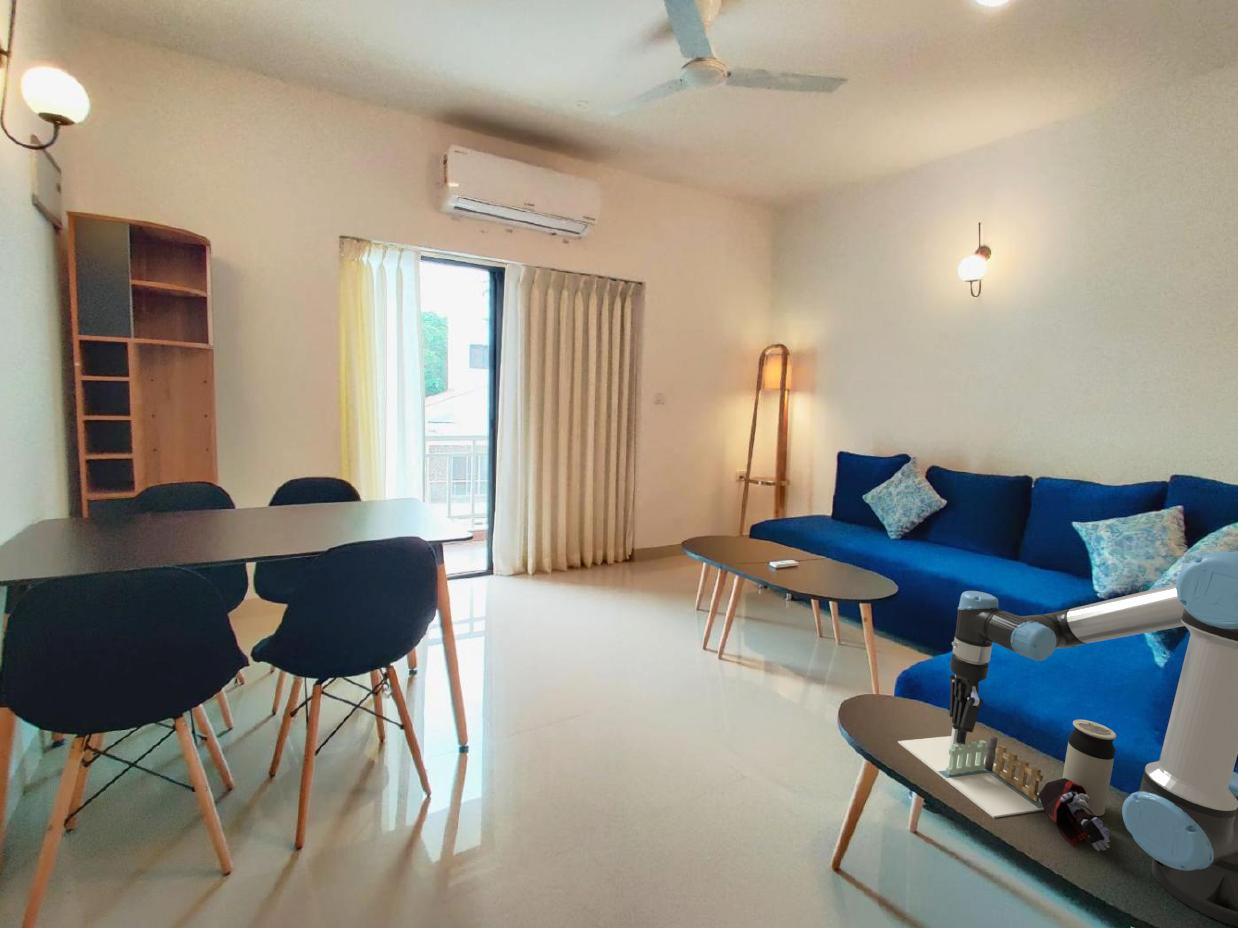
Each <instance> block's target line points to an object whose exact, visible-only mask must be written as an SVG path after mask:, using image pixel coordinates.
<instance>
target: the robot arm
mask: <svg viewBox="0 0 1238 928" xmlns="http://www.w3.org/2000/svg"><path fill="white" fill-rule="evenodd" d="M1179 627H1181V628H1182V627H1186V629H1187V630H1188V632H1189V634H1190V635H1189V640H1188V643H1187V648H1186V652H1185V656H1184V660H1183V663H1182V669H1181V672H1180V676H1179V679H1178V683H1177V688H1176V692H1175V696H1174V701H1173V703H1172V704H1173V705H1172V708H1171V713H1170V717H1169V721H1168V725H1167V729H1166V733H1165V736H1164V741H1163V744H1162V749H1161V752H1160V756H1159V760H1157V761H1153V762H1149V763H1147V764H1146V765H1145V767H1144V771H1143V775H1142V779H1141V783H1140V787H1139V790H1138V791H1136V792H1132V793H1130V795H1129V796H1128V797H1126V798H1125V800H1124V801H1123V804H1122V807H1121V815H1122V819H1123V822H1124V825H1125V827H1126V830H1127V831H1128V832H1129V833H1130V834H1131V837H1133V841H1135V843H1136V844H1137V845H1138V846H1139V848H1141V850H1143V851H1144V852H1145V853H1146V854H1148V855H1149V856H1150V857H1152V863H1151V867H1150V868H1151V873H1152V875H1153V877H1154V879H1155V880H1156V881H1157V882H1158V883H1159V885H1160V886H1161V887H1162V888H1164V890H1166V891H1167V892H1168V893H1169V894H1170V895H1172V896H1173V897H1174V898H1175V899H1177V900H1179V901H1180V902H1181V903H1183V904H1184V905H1186V906H1188V907H1190V908H1191V909H1193V910H1195V911H1197V912H1199V911H1200V912H1199V913H1201V914H1202V915H1205V916H1207V917H1209V918H1211V919H1213V918H1214V920H1216V921H1219V922H1220V923H1224V924H1226V925H1227V924H1228V925H1230V926H1232V927H1233V926H1234V927H1238V772H1235V771H1234V770H1235V766H1236V762H1237V757H1238V550H1233V549H1231V550H1220V551H1219V550H1218V551H1213V552H1210V553H1207V554H1203V555H1201V556H1197V557H1196V558H1194V559H1192V560H1191V561H1189V562H1188V563H1186V564H1185V566H1183V568H1182V569H1181V570H1180V572H1179V574H1178V576H1177V578H1176V583H1174V584H1170V585H1166V586H1162V587H1157V588H1153V589H1149V590H1143V591H1141V592H1137V593H1131V594H1128V595H1124V596H1120V597H1115V598H1111V599H1107V600H1103V601H1098V602H1095V603H1090V604H1086V605H1082V606H1077V607H1073V608H1070V609H1069V608H1068V609H1063V610H1059V611H1056V612H1050V613H1045V614H1044V613H1043V614H1034V615H1022V616H1020V615H1016V614H1013V613H1011V612H1008V611H1005V610H1002V609H1001V608H999V599H998V598H997V597H996V596H994V595H993V594H991V593H987V592H982V591H979V590H978V591H977V590H966V591H963V592H962V593H961V595H960V598H959V604H958V607H957V618H956V627H955V628H956V629H955V632H954V639H953V641H952V642H951V646H952V654H951V658H950V665H949V667H950V668H949V669H950V671H951V672H952V673H953V674H950V675H949V678H950V679H949V681H950V694H949V713H948V714H949V717H950V718H952V720H951V723H952V729H951V735H950V736H951V742H950V749H951V747H952V744H957V745H958V746H960V747H961V744H965V743H966V742H967V736H968V733H974V729H975V726H976V722H977V718H978V716H979V712H980V709H981V707H982V706H983V705H984V699H983V698H979V695H978V693H979V691H980V686H979V683H980V682H982V681H985V680H986V679H987V678H988V674H989V673H988V672H989V666H990V664H989V662H990V661H991V654H992V648H993V644H996V645H998V646H1000V647H1002V648H1005V649H1007V650H1009V651H1011V652H1014V653H1016V654H1018V655H1019V656H1021V657H1023V658H1024V657H1025V658H1029V659H1032V660H1034V661H1040V662H1041V661H1045V660H1046V659H1048V657H1051V656H1052V655H1053V654H1054V651H1055V650H1056V649H1070V648H1075V647H1078V646H1082V645H1086V644H1091V643H1096V642H1102V641H1108V640H1113V639H1114V640H1115V639H1119V638H1124V637H1131V636H1136V635H1141V634H1147V633H1153V632H1159V631H1164V630H1169V629H1175V628H1179Z"/></svg>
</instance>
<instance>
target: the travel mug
mask: <svg viewBox="0 0 1238 928" xmlns="http://www.w3.org/2000/svg"><path fill="white" fill-rule="evenodd" d="M1072 725H1073V728H1074V729H1073V731H1071V732H1070V733H1069V736H1068V741H1067V748H1066V753H1065V761H1064V767H1063V772H1062V778H1061V779H1063V778H1066V779H1068V780H1070V781H1072V782H1074V783H1076V784H1078V785H1080V786H1082V787H1083V788H1084V790H1085V791H1086V795H1088V796H1089V800H1088V806H1089V808H1090V810H1091V813H1090V812H1089V813H1088V814H1089V815H1093V816H1094V817H1099V816H1103V815H1104V814H1105V812H1106V807H1107V806H1106V805H1107V803H1108V802H1107V801H1108V796H1109V795H1108V794H1109V789H1110V783H1111V779H1112V778H1111V777H1112V772H1113V766H1114V759H1115V756H1116V748H1115V746H1114V744H1113V743H1114V740H1116V738H1117V734H1116V733H1115V732H1114V731H1113V729H1110V727H1109V728H1108V727H1107V726H1105V725H1103V724H1100V723H1097V722H1095V721H1090V720H1087V719H1075V720H1073V721H1072Z"/></svg>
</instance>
